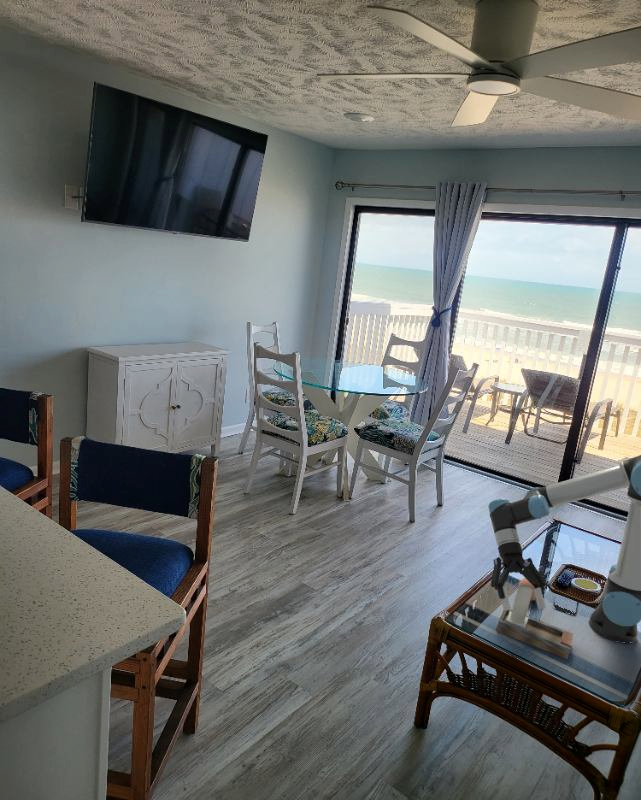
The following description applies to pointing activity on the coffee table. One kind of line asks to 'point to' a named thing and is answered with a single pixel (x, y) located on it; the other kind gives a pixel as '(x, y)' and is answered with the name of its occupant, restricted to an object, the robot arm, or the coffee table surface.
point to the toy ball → (527, 583)
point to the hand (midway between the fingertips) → (525, 609)
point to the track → (538, 635)
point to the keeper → (520, 607)
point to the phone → (563, 609)
